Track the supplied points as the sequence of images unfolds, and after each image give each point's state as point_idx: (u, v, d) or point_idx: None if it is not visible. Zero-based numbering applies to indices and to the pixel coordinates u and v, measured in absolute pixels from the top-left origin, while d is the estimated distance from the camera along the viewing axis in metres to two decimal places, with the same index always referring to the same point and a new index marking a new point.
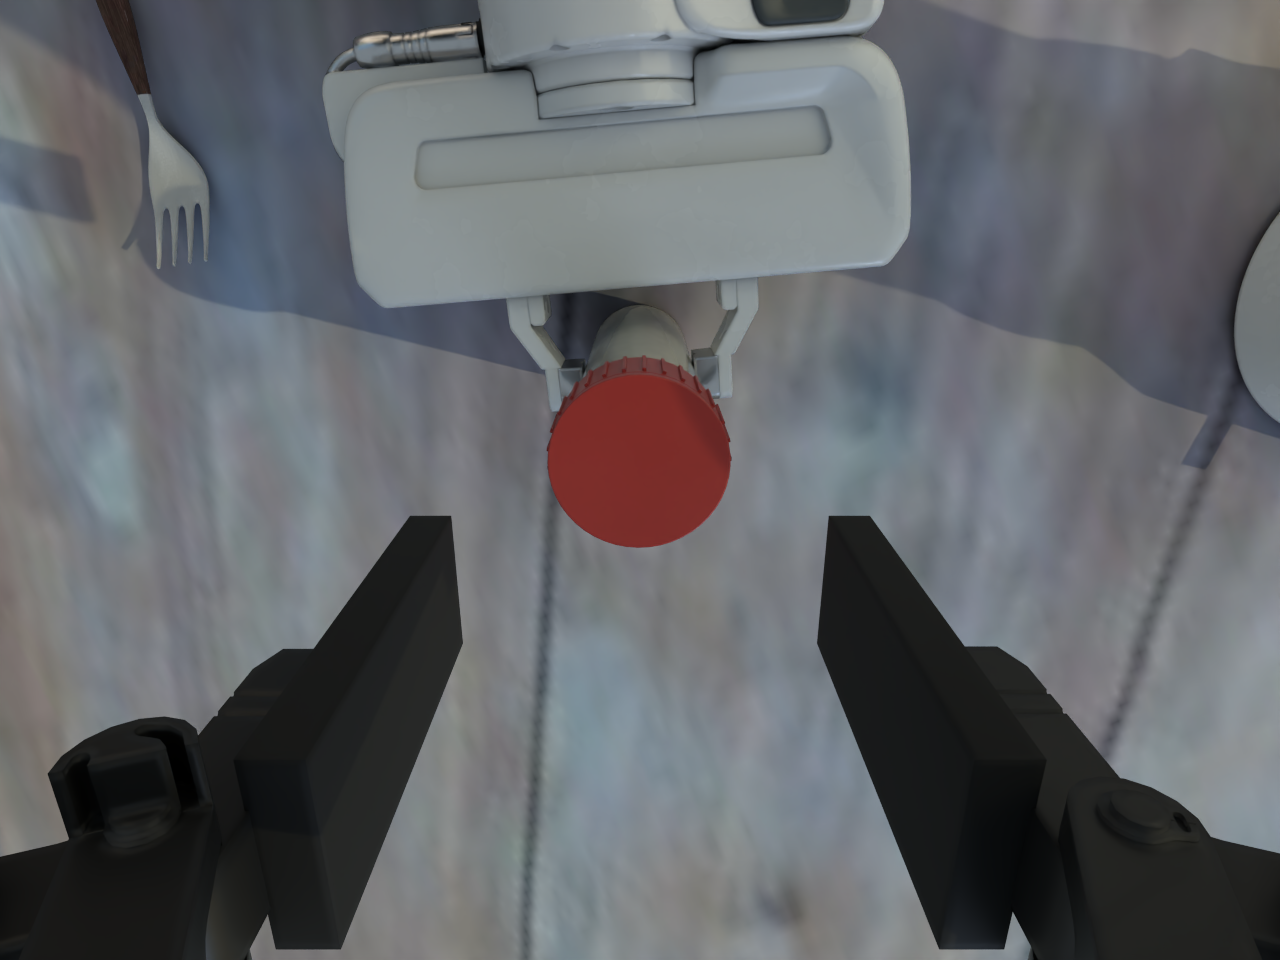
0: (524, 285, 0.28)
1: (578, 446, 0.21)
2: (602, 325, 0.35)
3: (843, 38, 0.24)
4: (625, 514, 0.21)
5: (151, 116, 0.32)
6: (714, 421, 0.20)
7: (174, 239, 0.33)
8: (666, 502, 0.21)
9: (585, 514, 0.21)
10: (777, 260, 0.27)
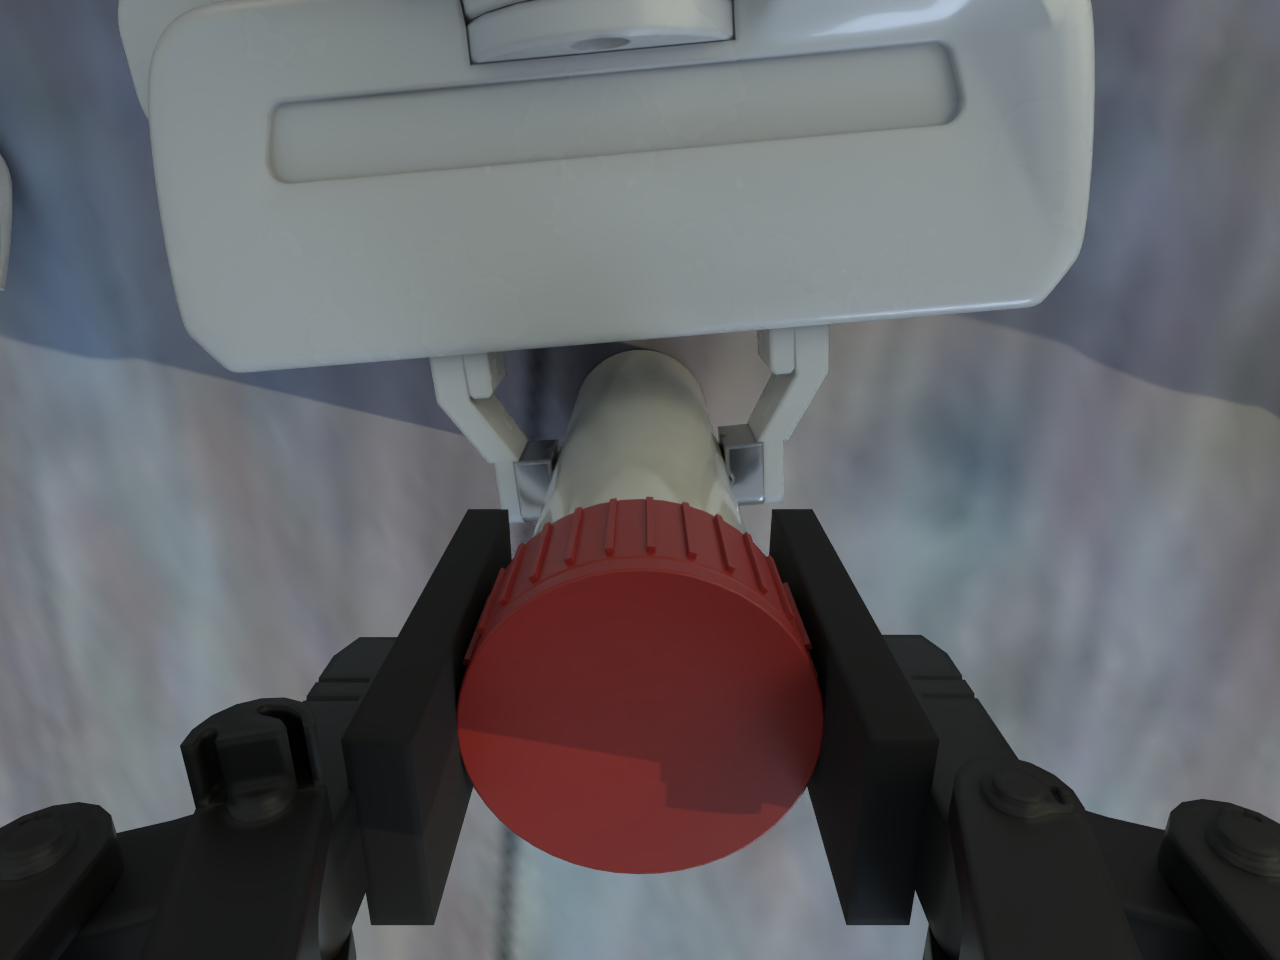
0: (455, 338, 0.17)
1: (517, 702, 0.10)
2: (587, 380, 0.24)
3: None
4: (613, 819, 0.11)
5: None
6: (795, 657, 0.10)
7: None
8: (694, 799, 0.11)
9: (534, 819, 0.11)
10: (864, 298, 0.17)
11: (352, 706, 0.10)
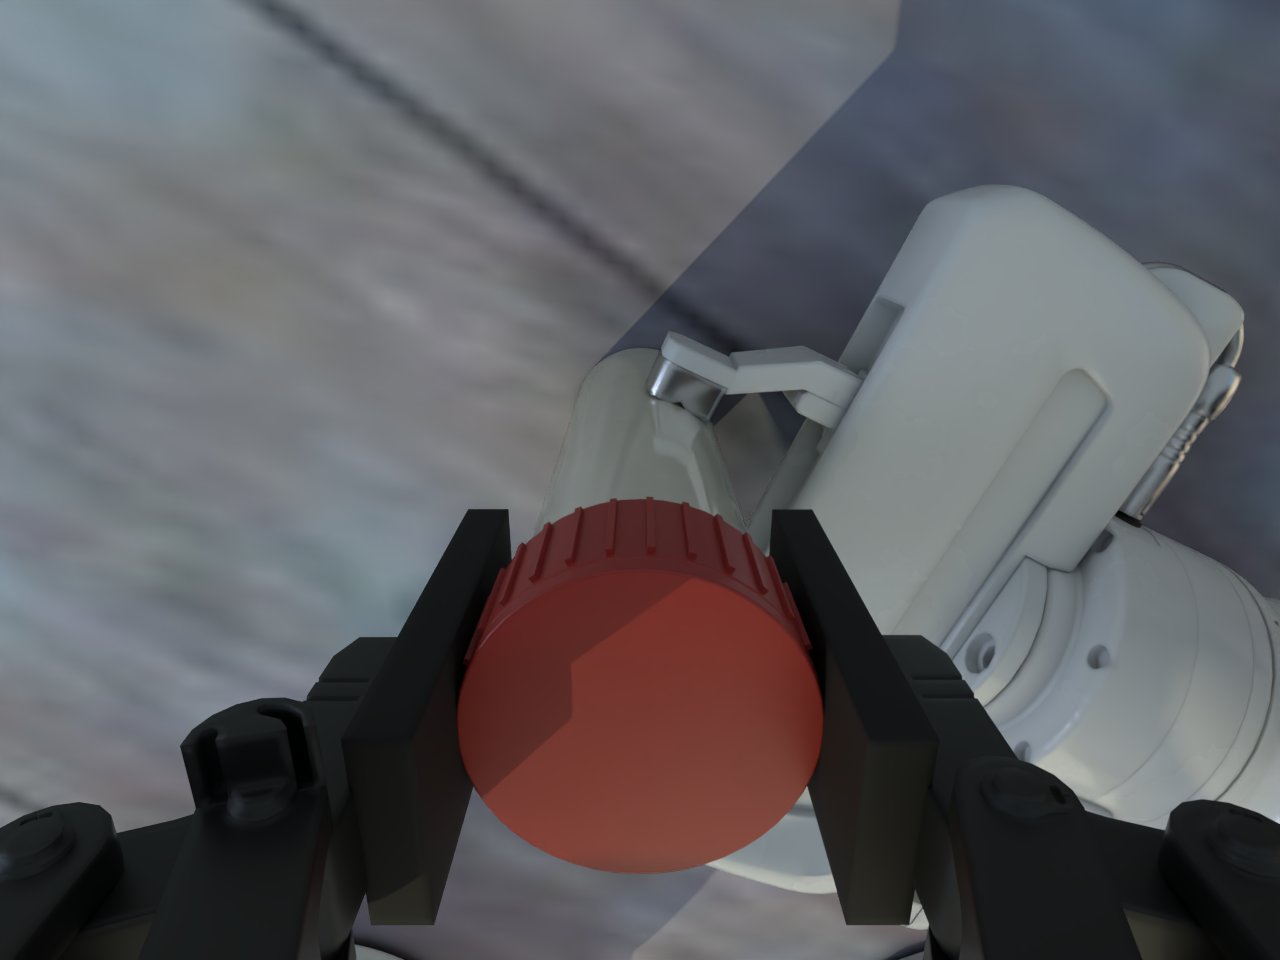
0: (867, 427, 0.18)
1: (517, 701, 0.10)
2: None
3: None
4: (613, 819, 0.11)
5: None
6: (795, 657, 0.10)
7: None
8: (694, 799, 0.11)
9: (535, 819, 0.11)
10: None
11: (352, 706, 0.10)
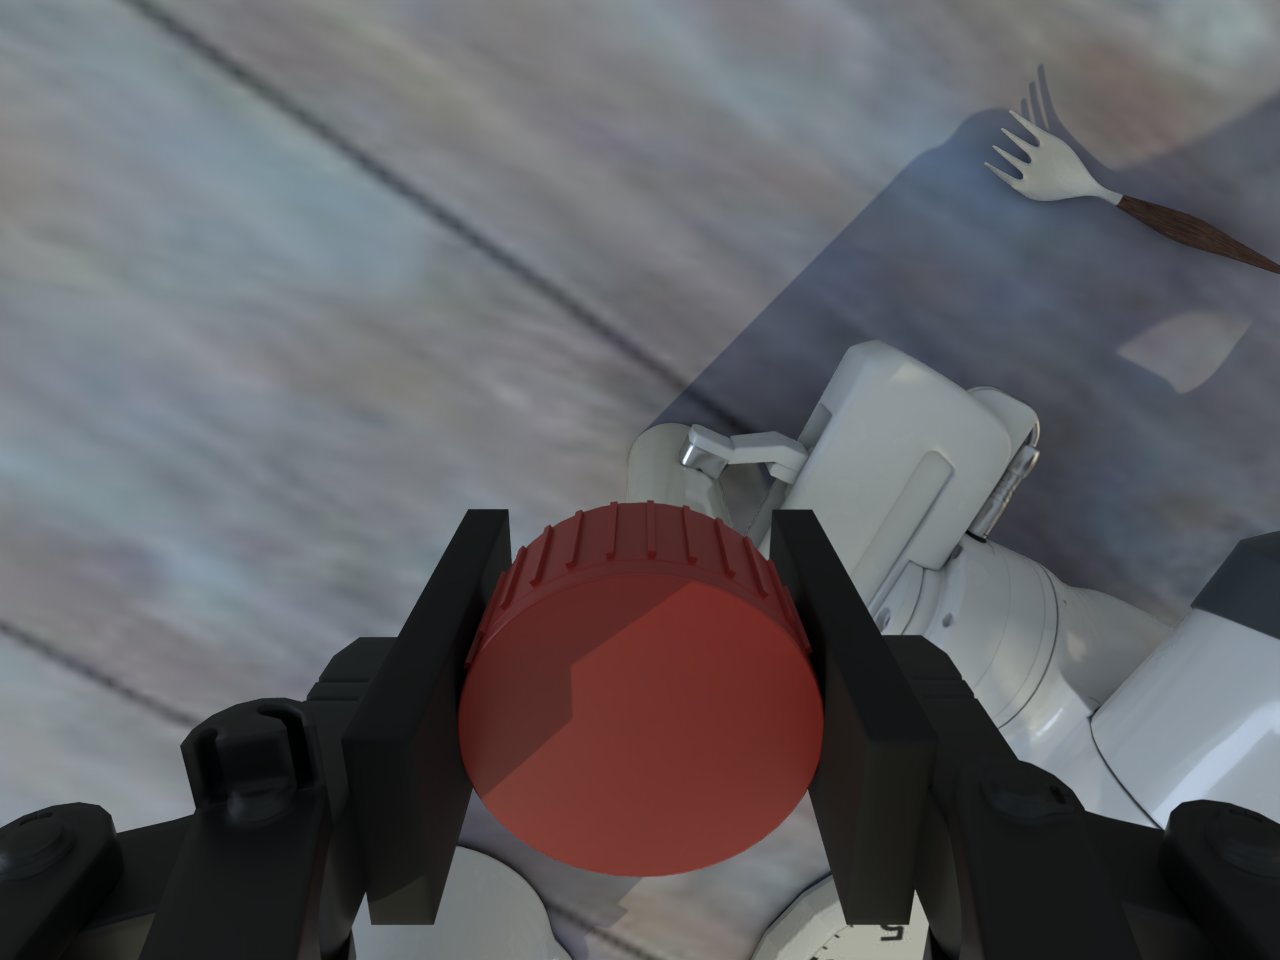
0: (811, 484, 0.31)
1: (518, 705, 0.10)
2: None
3: None
4: (614, 823, 0.11)
5: (1102, 193, 0.34)
6: (796, 661, 0.10)
7: (1017, 140, 0.32)
8: (695, 802, 0.11)
9: (535, 822, 0.11)
10: None
11: (352, 706, 0.10)
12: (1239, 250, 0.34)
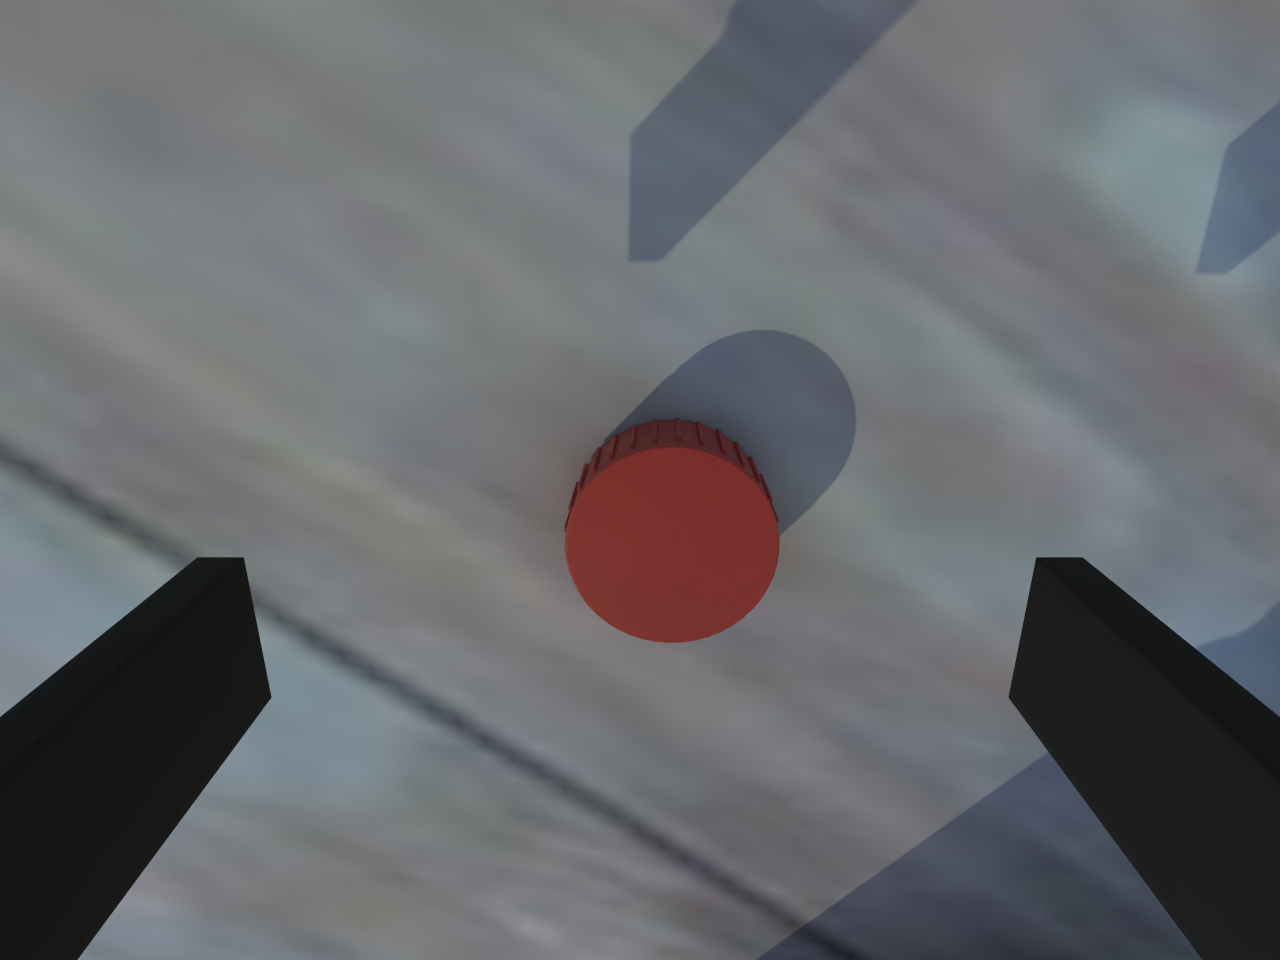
0: None
1: (601, 527, 0.18)
2: None
3: None
4: (655, 605, 0.18)
5: None
6: (761, 500, 0.17)
7: None
8: (703, 592, 0.18)
9: (608, 604, 0.18)
10: None
11: None
12: None
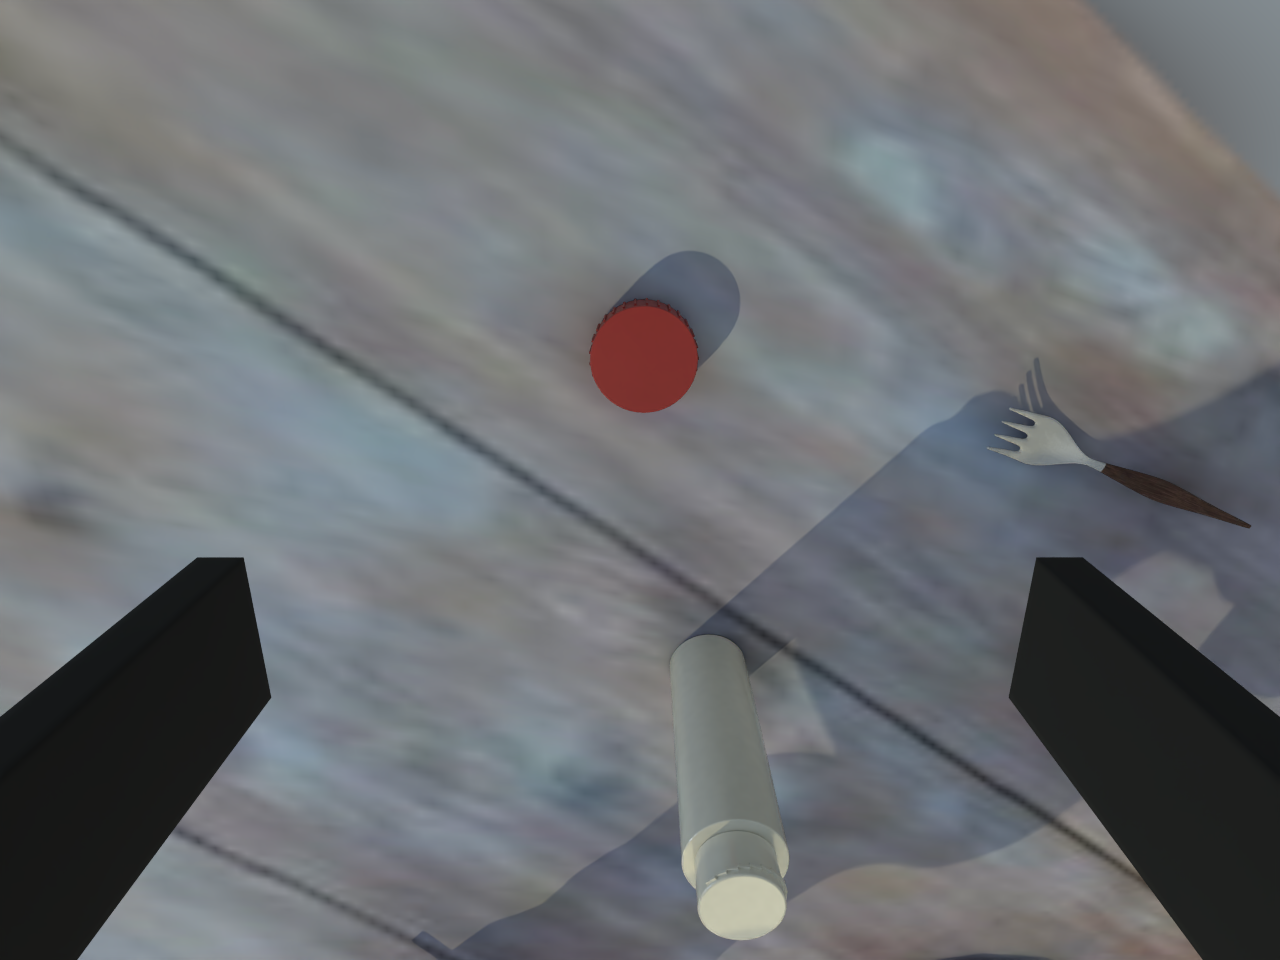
0: None
1: (608, 349, 0.35)
2: None
3: None
4: (636, 391, 0.36)
5: (1088, 462, 0.39)
6: (688, 333, 0.35)
7: (1015, 426, 0.38)
8: (660, 383, 0.36)
9: (612, 391, 0.36)
10: None
11: None
12: (1205, 508, 0.40)
